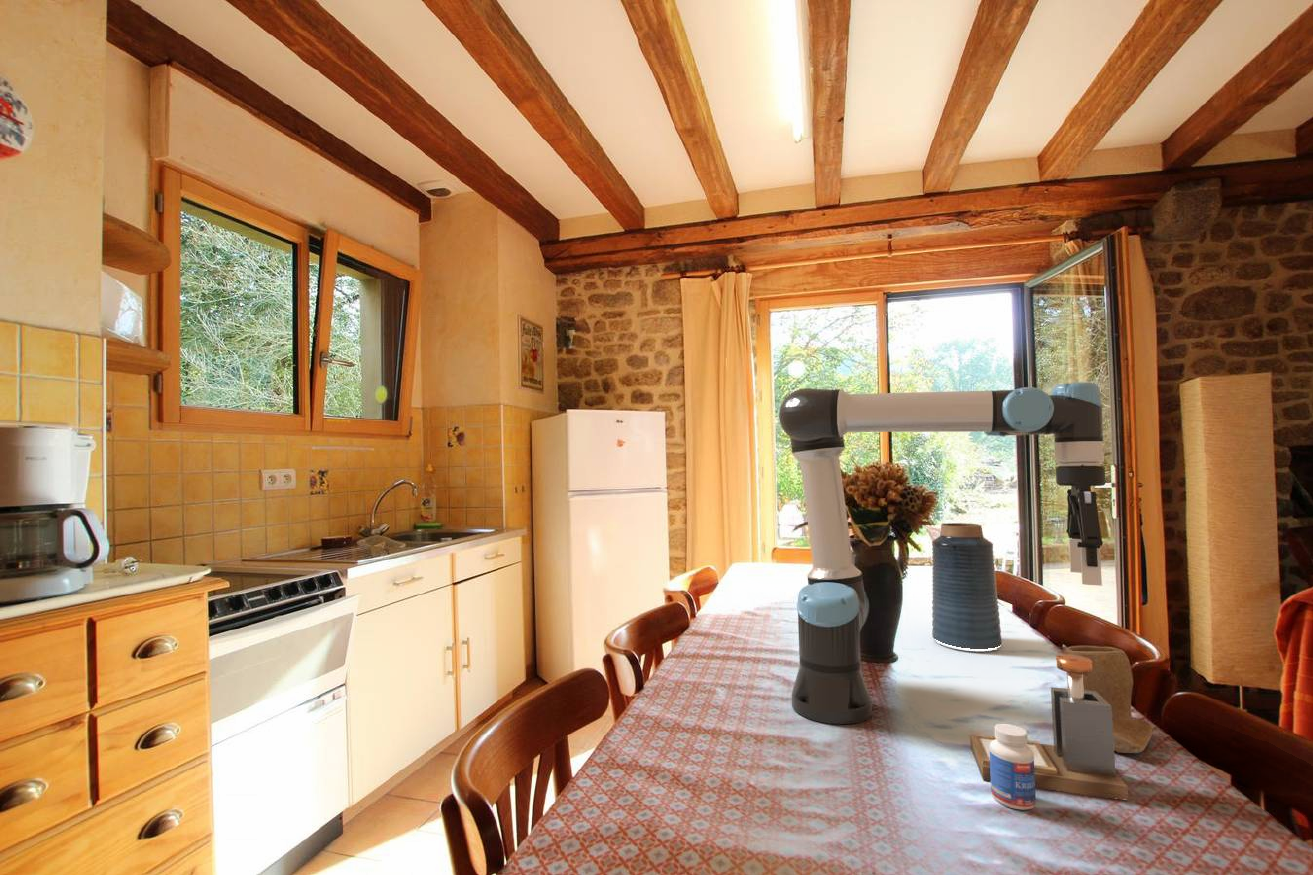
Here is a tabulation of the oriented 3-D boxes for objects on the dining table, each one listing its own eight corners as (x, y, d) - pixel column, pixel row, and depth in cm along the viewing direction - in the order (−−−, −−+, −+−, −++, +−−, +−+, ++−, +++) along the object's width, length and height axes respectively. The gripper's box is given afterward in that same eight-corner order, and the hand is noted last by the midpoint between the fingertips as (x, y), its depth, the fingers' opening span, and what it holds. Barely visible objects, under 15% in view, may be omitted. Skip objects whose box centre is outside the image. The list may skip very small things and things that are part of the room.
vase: (1015, 653, 146) (1009, 527, 148) (950, 653, 146) (945, 528, 148) (980, 634, 162) (975, 521, 164) (922, 635, 162) (917, 522, 164)
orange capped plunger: (1066, 740, 87) (1061, 661, 87) (1056, 728, 91) (1052, 652, 91) (1101, 744, 85) (1096, 664, 86) (1090, 731, 89) (1085, 655, 90)
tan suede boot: (1077, 713, 110) (1072, 633, 111) (1159, 733, 101) (1153, 646, 102) (1054, 739, 100) (1049, 650, 101) (1143, 764, 91) (1137, 667, 92)
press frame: (1066, 770, 86) (1063, 701, 86) (1054, 751, 91) (1050, 687, 92) (1115, 776, 84) (1111, 706, 84) (1099, 757, 89) (1095, 691, 90)
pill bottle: (1021, 815, 78) (1017, 741, 79) (983, 796, 83) (979, 726, 84) (1044, 804, 81) (1040, 732, 81) (1006, 785, 86) (1003, 718, 86)
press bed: (983, 780, 87) (982, 762, 87) (970, 747, 97) (969, 731, 98) (1128, 801, 81) (1127, 782, 81) (1098, 763, 91) (1097, 746, 92)
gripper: (1119, 464, 97) (1126, 592, 96) (1091, 464, 119) (1096, 569, 118) (1065, 464, 100) (1071, 588, 99) (1047, 465, 122) (1052, 566, 121)
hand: (1085, 578), depth 108 cm, fingers open, 13 cm apart
